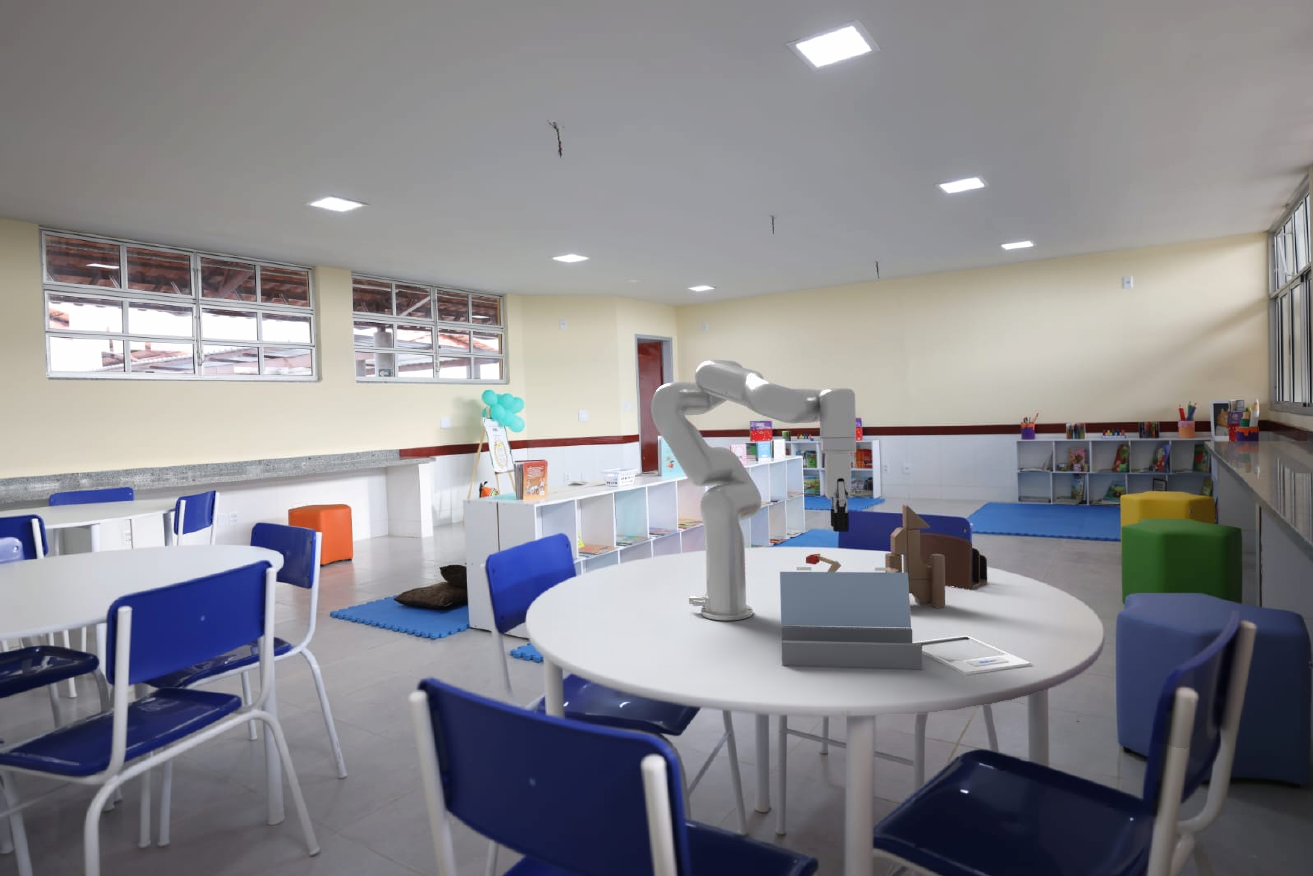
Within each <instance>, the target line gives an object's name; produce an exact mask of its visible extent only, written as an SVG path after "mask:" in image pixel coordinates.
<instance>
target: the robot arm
mask: <svg viewBox="0 0 1313 876" xmlns="http://www.w3.org/2000/svg"><path fill="white" fill-rule="evenodd" d="M727 401H728V402H732V403H735V404H737V405H741V406H744V407H746V408H748V409H749V410H751V411H752V412H754V413H756V414H758V415H761V416H763V417H767V418H770V419H772V420H775V421H779V422H782V423H786V424H808V423H810V424H811V423H817V422H818V423H819V445H820V447H819V449H820V451H819V452H820V453H821V454H825V455H824V495H825V497H826V498H827V500H830V503H831V505H830V507H831V508H830V527H832V530H833V532H834V533H835V532H837V533H838V532H840V533H841V532H842V533H843V532H845V533H846V532H849V530H850V525H849V523H850V521H849V519H850V518H849V515H850V514H849V511H848V510H849V509H848V506H849V505H848V500H849V499H850V498H851V492H852V491H851V490H852V460H851V459H852V455H851V454H853V453H857V436H856V435H857V432H856V431H857V425H856V423H857V422H856V419H857V418H856V416H857V415H856V394H855V391H854V390H853V389H852V388H851V389H850V388H841V387H840V388H827V389H813V388H811V389H810V388H790V387H786V386H783V385H780V384H775V383H772V382H770V381H767V380H765V379H764V376H763V374H762V373H761V372H758V371H756V370H752V369H749V368H746V367H743V366H742V365H741V364H740V363H738V362H736V361H734V360H727V359H725V360H724V359H709V360H705V361H704V362H701V364H699V366H698V367H697V368H696V370H695V372H694V381H693V382H692V381H689V382H688V381H687V382H686V381H674V382H667V383H665V384H662V385H660V386H659V387H658V388H657V389H656V391H655V392H654V394H653V396H652V399H651V406H650V410H651V418H652V421H653V423H654V426H655V427H656V430H657V431H658V433H659V434H660V435H661V437H662V438H663V440H664V441H665V443H666V444H667V446H668V447H669V448H670V450H671V453H672V454H673V457H674V458H675V459H676V461H677V463H678V464H679V466H680V468H681V470H682V471H683V472H684V475H685V476H686V478H687V480H689V482H690V483H691V484H692V485H694V486H695V487H700V488H701V487H702V488H703V487H710V486H713V487H710V488H709V489H707V490H706V492H704V494H703V496H702V497H701V500H700V515H701V518H702V524H703V530H704V540H705V546H704V547H705V549H704V550H705V569H706V571H705V573H706V593H705V595H701V596H693V595H692V596H691V595H690V596H689V597H688V601H689V602H688V604H689V605H692V606H693V607H701V606H702V607H701V609H700V614H701V616H702V617H704V618H707V619H710V620H714V621H726V622H727V621H739V620H744V619H747V618H750V617H751V616H753V612H754V611H753V607H751V606H750V605H748V604H747V592H746V591H747V590H746V589H747V587H746V584H747V582H746V581H747V580H746V549H745V548H746V547H745V537H744V532H743V530H742V528H741V524H740V522H741V521H745V520H748V519H751V518H753V517H754V516H756V515H757V514H758V513H759V512H760V510H761V507H762V497H761V493H760V491H759V488H758V486H757V485H756V483H755V481H754V480H753V478H752V477H751V475H750V474H749V472H748V471H747V469H746V467H745V465H743V464H744V463H742V461H741V459H740V458H739V457H738V455H737V454H735V452H733V450H731V449H729V448H727V447H725V446H724V447H723V446H716V447H715V446H714V447H712V446H710V445H709V444H708V443H707V442H706V440H705V439H704V437H703V435H702V434H701V432H700V431H699V430H698V428H697V427H696V425H694V424H693V423H692V422H691V421H690V420H689V419H688V418H687V417H686V416H699V415H704V414H707V413H709V412H710V411H712V410H714V409H715V408H717V407H719V406H720V405H723V404H724V403H725V402H727Z"/></svg>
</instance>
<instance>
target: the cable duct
mask: <svg viewBox="0 0 1313 876" xmlns="http://www.w3.org/2000/svg"><path fill="white" fill-rule="evenodd" d="M780 628H781V631H780V632H781V661H782V662H781V663H782V665H781V666H785V667H786V666H787V667H788V666H789V667H790V666H794V667H795V666H797V667H798V666H799V667H824V668H825V667H827V668H828V667H831V668H864V669H866V668H868V669H899V670H900V669H904V670H923V653H922V649H923V645H922V643H921V644H917V643H913V642H914V641H913V629H912V627H911V628H900V627H847V626H794V625H780Z"/></svg>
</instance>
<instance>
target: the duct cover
mask: <svg viewBox="0 0 1313 876" xmlns="http://www.w3.org/2000/svg"><path fill="white" fill-rule="evenodd" d="M882 571H883V572H882ZM886 571H891V568H885V567H874V572H872V571H870V572H869V571H868V572H867V571H865V572H864V571H863V572H861V571H860V572H858V571H857V572H856V571H855V572H854V571H836V572H827V571H812V567H811V566H796V571H779V585H780V586H779V587H780V588H779V589H780V591H779V593H780V623H781V624H780V626H821V627H874V628H911V629H912V620H911V619H912V618H911V602H910V601H911V600H910V599H911V598H910V593H909V582H908V573H904V572H902V573H893V572H886Z"/></svg>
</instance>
